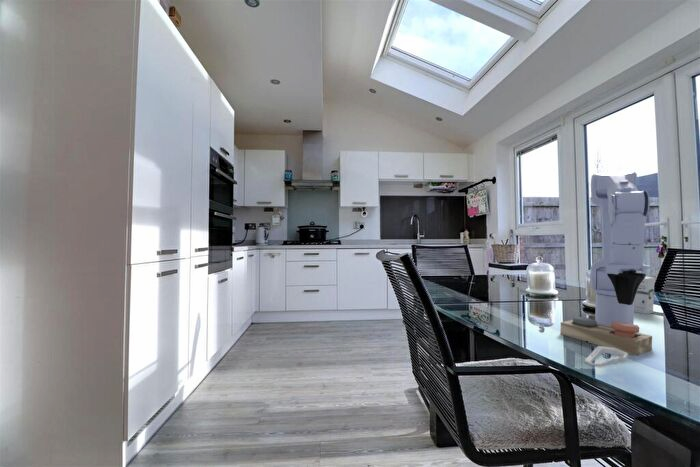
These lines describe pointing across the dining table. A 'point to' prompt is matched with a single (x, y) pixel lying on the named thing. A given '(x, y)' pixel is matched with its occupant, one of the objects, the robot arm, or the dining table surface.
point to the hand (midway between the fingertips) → (625, 303)
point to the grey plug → (584, 322)
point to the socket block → (607, 337)
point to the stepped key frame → (608, 350)
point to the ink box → (645, 296)
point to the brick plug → (625, 329)
